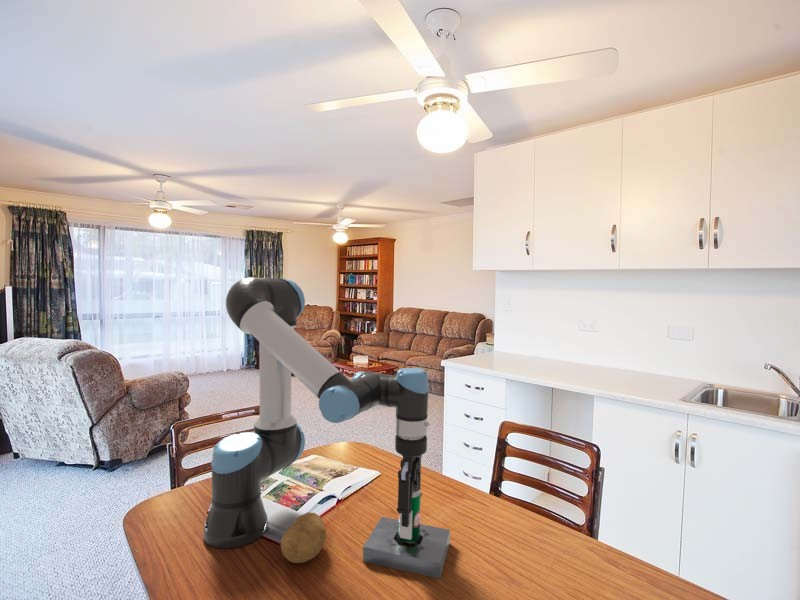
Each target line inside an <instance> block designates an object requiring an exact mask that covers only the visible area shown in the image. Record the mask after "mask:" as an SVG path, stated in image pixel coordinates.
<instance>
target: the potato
mask: <svg viewBox="0 0 800 600" xmlns="http://www.w3.org/2000/svg"><path fill="white" fill-rule="evenodd" d="M326 536H327V533H326V529H325V525H324V522H323V520H322V517H321V516H320V515H319V514H317V513H315V512H305V513H303V514H301V515H299V516H298V518H296V519H295V520H294V521H293V522H292V524H291V525H290V526H289V527H288V528H287V529H286V531H285V532H284V534H283V536H282V538H281V539H280V540H281V541H280V548H281V552H282V556H283V557H284V558H285V559H287V561H288V562H290V563H293V564H304V563H307V562H308V561H311V560H312V559H313V558H315V557H317V555H318V554H319V553H320V552H321V549H323V546H324V543H325V542H326V541H325V540H326Z"/></svg>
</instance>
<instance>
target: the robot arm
mask: <svg viewBox="0 0 800 600" xmlns="http://www.w3.org/2000/svg"><path fill="white" fill-rule="evenodd" d="M305 304H306V298H305V295H304V292H303V290H302V288H301V287H300V286H299V285H298V284H297V283H296V282H295V281H293V280H291V279H286V278H282V277H281V278H280V277H273V278H272V277H271V278H270V277H245V278H243V279H239V280H238V281H237V282H235V283H233V285H232V286H231V287H230V288H229V290H228V292H227V295H226V299H225V309H226V311H227V314H228V316H229V318H230V319H231V321H232V323H233V324H234V325H235V326H236V327H237V328H238V329H239V330H240V331H241V332H242V333H244V334H246V335H248V334H249V335H252V336H253V337H254V339H256V340H257V341H258V343H259V344H258V345H259V417H258V418H257V419H256V420H255V422H254V423H253V432H250V431H245V432H240V433H234V434H230V435H227V436H225V437H223V438H222V439H221V440H219V441H218V442H217V443H216V445H215V446H214V448H213V451H212V458H211V459H212V460H211V462H210V463H211V464H210V465H211V466H210V467H211V506H210V508H209V511H208V514H207V517H206V519H205V522H204V525H203V539H204V542H205V543H206V544H207V545H209V546H211V547H213V548H216V549H233V548H239V547H242V546H246V545H249V544H251V543H253V542H255V541H257V540H258V539H259V538H261V537H262V536H263V535H262V533H263V531H264V526H265V524H266V521H267V522H268V514H267V512H266V510H265V506H264V502H263V500H262V496H261V493H262V491H261V489H262V488H261V487H262V481H263V480H264V479H266V478H269V477H270V476H273V475H274V474H276V473H278V472H279V471H281V470H283V469H286V468H287V467H290V466H291V465H293V463H295V462H297V461H298V460H299V459H300V457H301V456H302V454H303V452H304V450H305V445H306V437H305V433H304V431H302V428H301V426H300V425H299V424H298V423H297V422H298V421H297V418H296V417H294V416H293V415H292V374H293V375H294V376H295V377H296V378H297V379H298V380H299V381H300V382H301V383H302V384H303V385H304V386H305V387H306V388H307V389H308V390H309V391H310V392H312V394H313V395H315V397H317V399H318V409H319V410H320V414H321V416H322V417H323V418H324V419H325V421H328V422H329V423H332V424H339V423H342V422H346V421H349V420H351V419H353V418H354V417H356V416H357V415H360V414H361V413H363V412H366V411H368V410H370V409H371V408H374V407H376V406H381V407H382V406H383V407H388V408H395V428H394V429H395V430H394V431H395V434H396V435H395V438H394V439H395V440H394V441H395V442H394V443H395V444H394V448H395V451H396V453H397V454H399V455H401V456H402V459H401V460H400V465H399V467H400V469H399V470H398V471H397V479H398V486H397V487H398V488H397V491H398V493H397V508H396V511H397V513H398V514H399V513H400V538H404V539H409V540H411V539H412V512H413V510H411V506H412V493H413V485H416V486H418V487H419V491H420V492H421V489H422V487H421V484H422V483H421V480H422V479H421V478H422V455H424V454H425V453H426V452H427V450H428V436H427V434H428V427H430V425H431V423H430V422H428V409H429V408H428V406H429V392H430V388H429V375H428V372H427V371H426V370H425V369H423V368H418V367H403V368H399V369H398V370H397V372H396V374H395V375H393V374H385V373H378V372H373V371H357V372H355V373H354V375H353V376H352V377H351V379H350V378H348V377H347V376H346V375H344V374H343V373H342V372H341V371H340V370H339V369H338V368H337V367H336V366H334V364H332V363H331V362H330V361H329V360H328V359H327V358H326V357H325V356H324V355H322V354H321V353H320V352H319V351H318V350H317V349H316V348H315V347H314V346H312V345H311V343H309V341H307V340H306V339H305V338H304V337H303V336H302V335H300V334H299V332H298V331H296V330H295V328H296V327H297V325H298V324H297V321H298V320H297V318H299V317H300V316H301V314H302V312H303V311H304V309H305V307H306V306H305ZM422 495H423V493H422V492H421V497H423V496H422Z"/></svg>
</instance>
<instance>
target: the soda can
mask: <svg viewBox="0 0 800 600" xmlns="http://www.w3.org/2000/svg"><path fill="white" fill-rule="evenodd" d="M421 493H422V492H421V490H420V491H419V487H418V486H416V485H413V493H412V506H411V510H413V512H412V539H411V540H409V539H404V538H400V513H398V520H399V538H400V539H401V540H402V541H403V542H406V543H405V544H409V543H413V542H416V541H417V540H418V539H419V537H420V524H421V506H422V505H421V501H422V500H421V498H422V496H421Z"/></svg>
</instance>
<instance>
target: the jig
mask: <svg viewBox="0 0 800 600" xmlns="http://www.w3.org/2000/svg"><path fill="white" fill-rule="evenodd" d="M405 544H407V543H406V542H403V541H402V540H401V539H400V538H399V519H395V518H390V517H386V516H380V518H379V520H378V521H377V523H376V524H375V526H374V528H373V530H372V532H371V533H370V534H369V537H368V538H367V540H366V542H365V543H364V545H363V547H362V548H363V549H362V550H363V551H362V562H364V563H367V564H372V565H377V566H382V567H385V568H390V569H394V570H399V571H404V572H408V573H412V574H417V575H422V576H426V577H430V578H435V579H441V577H442V574H443V569H444V566H445V562H446V559H447V555H448V552H449V547H450V544H451V529H448V528H444V527H443V528H442V527H438V526H432V525H429V524H428V525H426V524H423V523H422V524H421V523H420V537H419V539H418V540H417V541H416V542H413V543H408V544H409V545H413V546H407V545H405Z"/></svg>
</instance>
